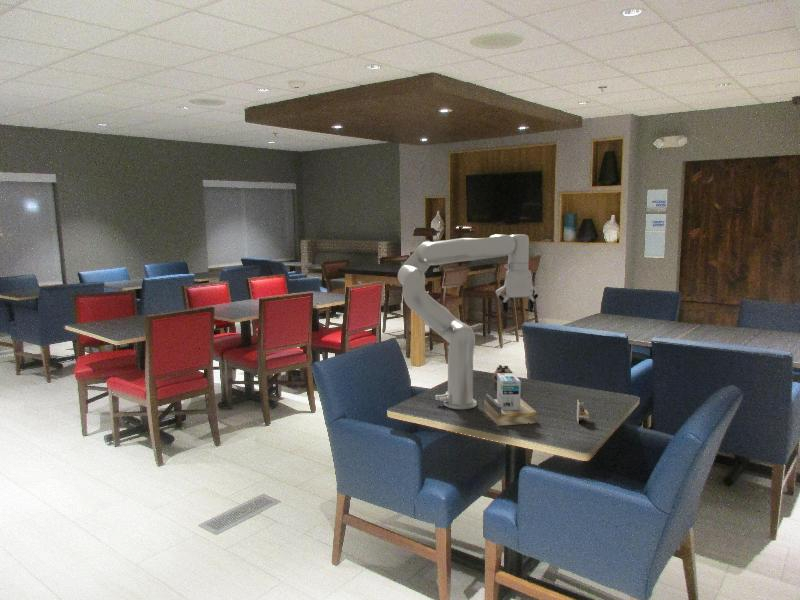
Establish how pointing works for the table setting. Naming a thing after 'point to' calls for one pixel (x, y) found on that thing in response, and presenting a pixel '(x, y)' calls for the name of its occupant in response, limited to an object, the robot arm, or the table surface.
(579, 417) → the architectural model
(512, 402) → the light bulb box
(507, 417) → the beige flat block
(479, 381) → the table surface
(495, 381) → the cupcake
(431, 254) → the robot arm
